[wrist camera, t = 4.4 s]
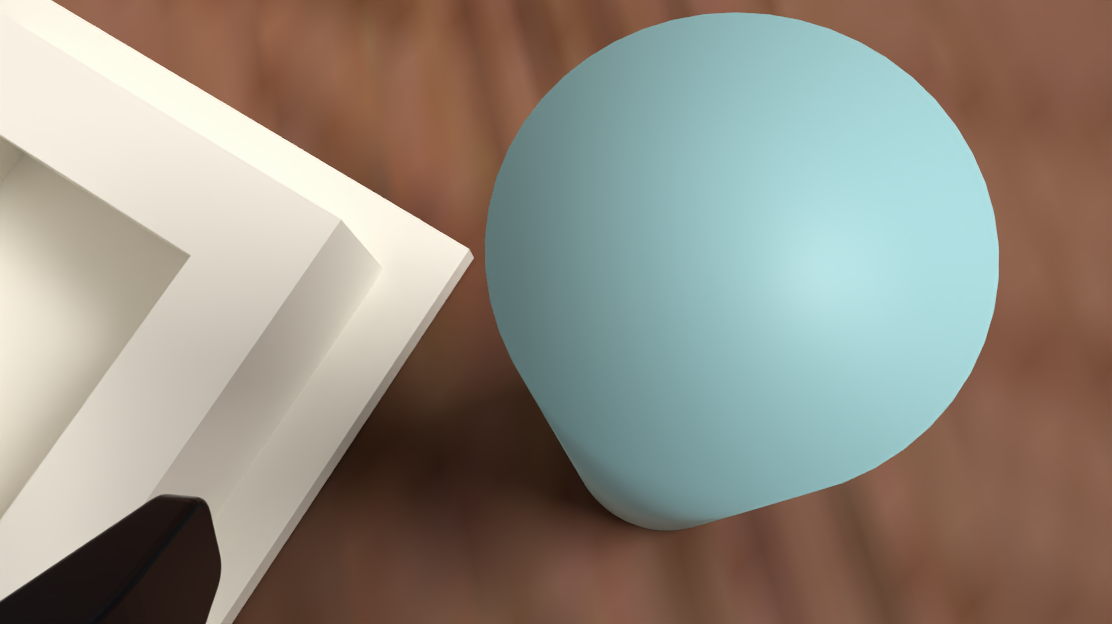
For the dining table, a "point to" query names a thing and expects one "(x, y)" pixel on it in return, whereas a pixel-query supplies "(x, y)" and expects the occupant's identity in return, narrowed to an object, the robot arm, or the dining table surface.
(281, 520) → the socket
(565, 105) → the blue cylinder
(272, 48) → the dining table surface
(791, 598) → the dining table surface
